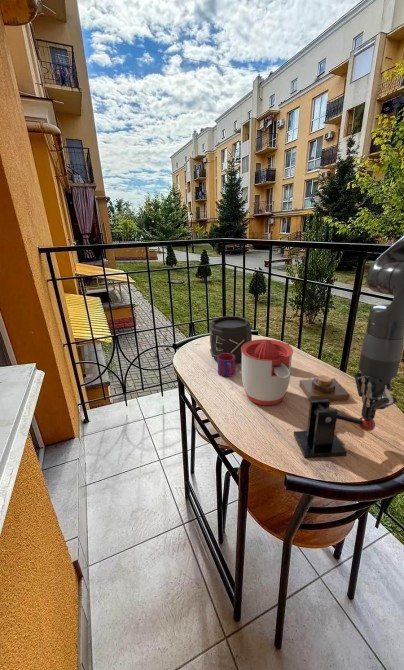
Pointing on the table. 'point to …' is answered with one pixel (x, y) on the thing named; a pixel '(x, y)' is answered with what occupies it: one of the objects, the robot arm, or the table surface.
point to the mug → (226, 364)
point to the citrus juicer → (266, 370)
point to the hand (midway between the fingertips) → (367, 417)
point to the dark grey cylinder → (229, 336)
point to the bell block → (323, 390)
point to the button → (324, 380)
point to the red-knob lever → (351, 419)
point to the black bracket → (320, 433)
